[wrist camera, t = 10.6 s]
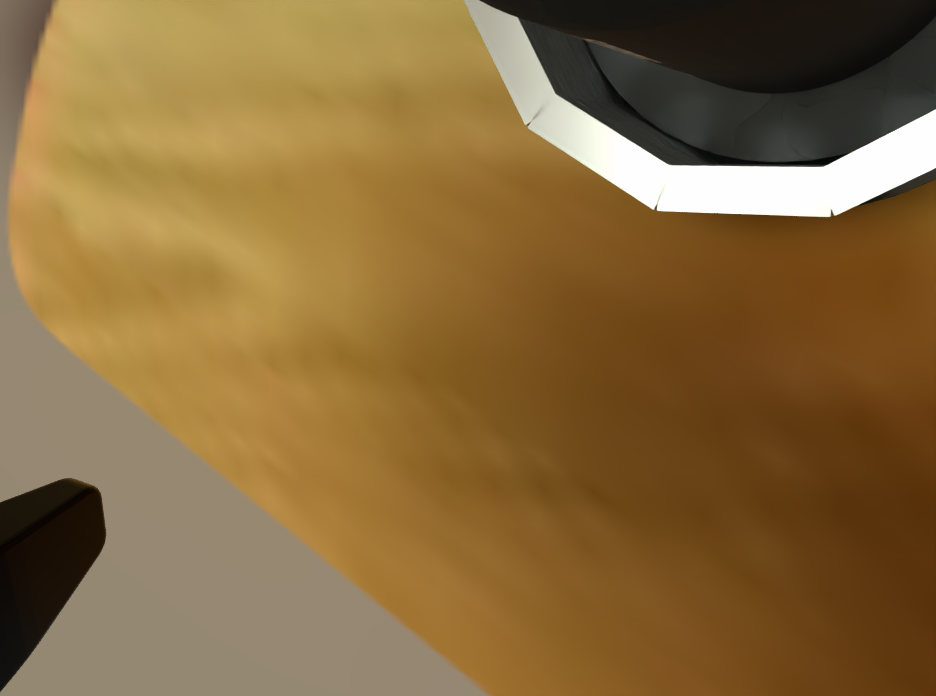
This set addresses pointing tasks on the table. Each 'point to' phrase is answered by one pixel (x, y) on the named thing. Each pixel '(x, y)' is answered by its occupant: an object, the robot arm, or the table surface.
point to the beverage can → (741, 35)
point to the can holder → (722, 125)
